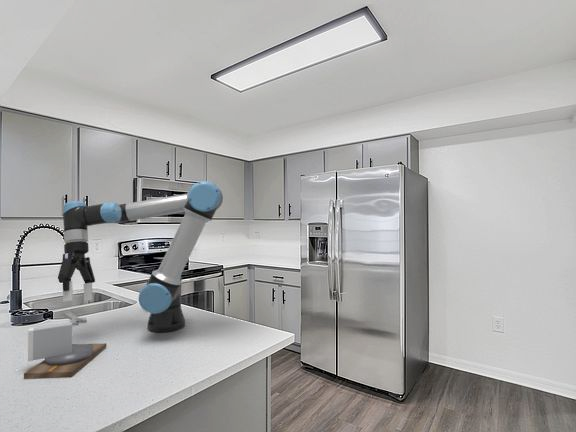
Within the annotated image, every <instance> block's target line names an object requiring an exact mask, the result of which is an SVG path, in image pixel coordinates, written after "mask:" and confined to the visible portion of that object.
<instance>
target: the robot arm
mask: <svg viewBox="0 0 576 432" xmlns="http://www.w3.org/2000/svg"><path fill="white" fill-rule="evenodd" d="M223 198H224V197H223V193H222V191H221V190H220V188H219V186H217V185H216V184H214V183H213V182H210V181H207V180H205V181H204V180H203V181H202V180H201V181H198V182H196V183H194V184H193V185H192V186H191V187H190V188H189V190H188V192H187V193H183V194H182V193H181V194H177V195H170V196H166V197H165V196H164V197H159V198H152V199H147V200H141V201H140V200H139V201H134V202H128V203H127V202H126V203H121V204H118V203H117V202H105V203H99V204H94V205H93V204H92V205H87V204H86V203H85V202H83V201H78V200H77V201H74V200H73V201H68V202H66V203H64V204H63V207H62V209H63V210H62V217H63V218H62V219H63V220H62V221H63V239H64V240H63V241H64V243H65V244H64V245H63V248H64V250H63V252H64V253H63V254H62V262H61V265H60V268H59V272H58V275H57V280H58V282H59V283H62V301H63V302H64V303H65V302H70V301H71V302H72V301H74V295H73V294H74V293H73V292H74V290H73V289H74V288H73V281H72V277H73V275H74V273H75V271H76V270H77V271H79V273H80V276H81V277H82V279H83V282H84V283H83V298H84V299H83V300H84V302H89V301H93V300H94V295H93V294H94V293H93V284H94V283H96V278H95V275H94V271H93V267H92V263H91V260H90V259H91V258H90V257H89V256H88V257H86V256H85V255H86V254H87V253H89V250H90V249H89V233H88V232H89V231H88V227H89V226H91V227H92V226H96V225H102V224H123V223H126V222H131V221H137V220H144V219H149V218H156V217H163V216H167V215H175V214H178V213H179V214H180V213H185V214H184V216H183V218H182V220H181V222H180V223H179V226H178V228H177V231H176V232H175V234H174V237H173V238H172V240H171V242H170V244H169V247H168V249H167V251H166V252H165V254H164V256H163V258H162V261H161V263H160V265H159V267H158V269H156V270H153V271H152V273H151V274H150V277H148V280H147V282H146V284H145V285H144V286H143V287H142V288H141V289H140V292H139V294H138V304H139V305H140V307H141V308H142V310H144V311H145V312H147V313H149V314H150V315H149V318H148V321H147V327H146V329H147V331H149V332H154V333H168V332H174V331H177V330H178V331H179V330H181V329H183V328H184V327H185V326H186V318H185V316H184V313H183V309H182V280H183V279H182V273H183V271H184V269H185V266H186V265H187V263H188V260H189V259H190V257H191V255H192V252H193V250H194V248H195V246H196V244H197V242H198V241H199V237H200V236H201V234H202V232H203V229H204V228H205V226H206V224H207V223H209V222H211V221H212V220H213V217H214V215H215V213H216V212H217V210H218V209H219V208H220V207H221V206H222V203H223Z"/></svg>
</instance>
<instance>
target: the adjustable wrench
mask: <svg viewBox="0 0 576 432" xmlns="http://www.w3.org/2000/svg"><path fill="white" fill-rule="evenodd" d="M62 315H63V316H64V317H66V318H68V319H69V320H70V322H69V323H71V322H72V327H73V326H74V327H76V326H80V323H81V324H87V318H86V317H78V316H77V315H75V314H74V313H72V312H71V311H70V310H64V311H62Z"/></svg>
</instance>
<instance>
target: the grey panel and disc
mask: <svg viewBox="0 0 576 432" xmlns="http://www.w3.org/2000/svg"><path fill="white" fill-rule="evenodd" d="M27 337H28V338H27V362H33V361H37V360H43V359H44V360H45V363H46V364H48V365H67V364H72V363H76V362H79V361H82V360H85V359H87V358H88V357H90V356H91V355H92V354H93V346H91V345H87V344H88V343H78V344H77V343H75V344H76V345H72V344H73V326H72V322H71V323H70V322H65V323H57V324H51V325H44V326H37V327H29V328H28V332H27Z"/></svg>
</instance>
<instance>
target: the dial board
mask: <svg viewBox="0 0 576 432" xmlns="http://www.w3.org/2000/svg"><path fill="white" fill-rule="evenodd" d="M76 344H77V343H74V344H73V343H72V345H76ZM86 344H87V345H91V346H93V354H92V355H91V356H90V357H88V358H87V359H85V360H82V361H79V362H76V363H72V364H67V365H48V364H46V363H45V359H44V360H42V361H41V362H39V363H38V364H36V365H35V366H33V367H31V368H30V369H28V370H27V371H25V372H24V373H23V379H24V380H27V379H28V380H29V379H51V378H52V379H55V378H56V379H58V378H73V376H75V375H76V374H77V373H78V372H80V371H81V370H82V369H83V368H84V367H86V366H87V365H88V364H89V363H90V362H91V361H92V360H94V359H95V358H97V356H98V355H100V354H101V353H102V352H103V351H105V350H106V349H107V343H86Z"/></svg>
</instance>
